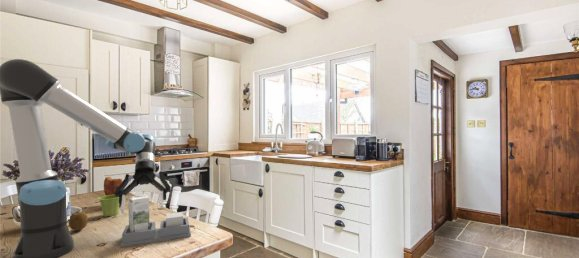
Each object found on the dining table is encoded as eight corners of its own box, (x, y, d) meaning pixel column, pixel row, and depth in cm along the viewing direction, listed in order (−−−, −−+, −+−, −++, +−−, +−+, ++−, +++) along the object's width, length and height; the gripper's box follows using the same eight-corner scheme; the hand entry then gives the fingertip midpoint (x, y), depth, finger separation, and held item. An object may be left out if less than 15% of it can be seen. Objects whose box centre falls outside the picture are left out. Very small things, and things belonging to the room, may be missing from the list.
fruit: (90, 227, 120) (89, 208, 120) (84, 232, 114) (84, 212, 114) (72, 229, 119) (72, 209, 118) (66, 234, 113) (65, 214, 113)
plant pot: (104, 219, 131) (104, 200, 131) (95, 216, 136) (94, 197, 136) (125, 213, 138) (125, 195, 138) (116, 210, 144) (115, 193, 144)
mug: (128, 205, 153) (127, 177, 153) (112, 209, 147) (111, 179, 146) (114, 202, 161) (113, 175, 161) (98, 205, 154) (97, 177, 154)
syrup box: (145, 231, 110) (144, 193, 110) (150, 235, 106) (149, 196, 106) (129, 235, 107) (128, 196, 106) (133, 240, 102) (131, 199, 102)
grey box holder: (120, 247, 99) (119, 226, 99) (125, 236, 109) (124, 217, 109) (190, 236, 108) (190, 217, 108) (189, 227, 118) (188, 209, 118)
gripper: (176, 168, 131) (177, 209, 118) (113, 172, 122) (106, 218, 109) (176, 157, 126) (177, 200, 113) (110, 161, 117) (102, 208, 104)
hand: (142, 209), depth 111 cm, fingers open, 13 cm apart
